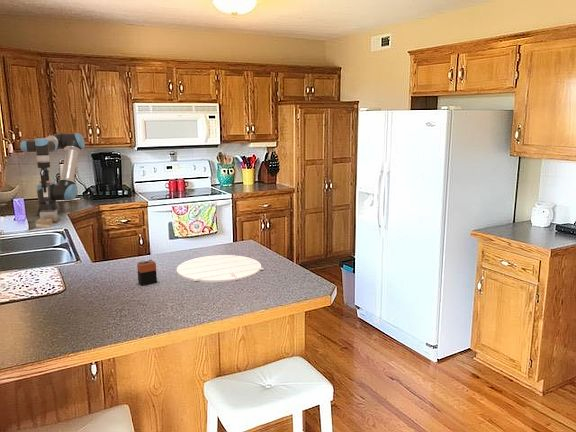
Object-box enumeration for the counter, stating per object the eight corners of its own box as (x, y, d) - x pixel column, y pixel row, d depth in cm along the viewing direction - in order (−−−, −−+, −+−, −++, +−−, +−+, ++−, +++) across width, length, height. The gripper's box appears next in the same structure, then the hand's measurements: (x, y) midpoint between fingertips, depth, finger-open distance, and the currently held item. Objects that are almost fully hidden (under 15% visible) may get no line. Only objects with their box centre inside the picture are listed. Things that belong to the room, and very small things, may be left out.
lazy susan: (276, 274, 215) (276, 267, 214) (193, 289, 196) (193, 281, 195) (240, 253, 249) (240, 247, 248) (166, 264, 230) (166, 257, 229)
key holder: (39, 225, 314) (38, 219, 313) (52, 224, 316) (51, 218, 315) (36, 227, 306) (35, 221, 306) (49, 227, 308) (49, 221, 307)
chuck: (42, 220, 329) (41, 209, 327) (60, 219, 332) (59, 209, 330) (37, 224, 317) (36, 213, 316) (57, 223, 320) (56, 212, 319)
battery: (138, 283, 202) (136, 260, 200) (153, 280, 206) (152, 257, 204) (141, 286, 199) (140, 263, 197) (157, 282, 202) (156, 260, 200)
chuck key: (42, 204, 323) (39, 180, 320) (54, 204, 325) (52, 180, 322) (40, 205, 319) (38, 181, 316) (53, 204, 321) (50, 181, 318)
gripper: (40, 160, 324) (43, 194, 328) (33, 162, 307) (37, 198, 312) (52, 160, 325) (55, 194, 330) (46, 162, 309) (49, 198, 314)
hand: (46, 196), depth 321 cm, fingers closed on chuck key, 4 cm apart
